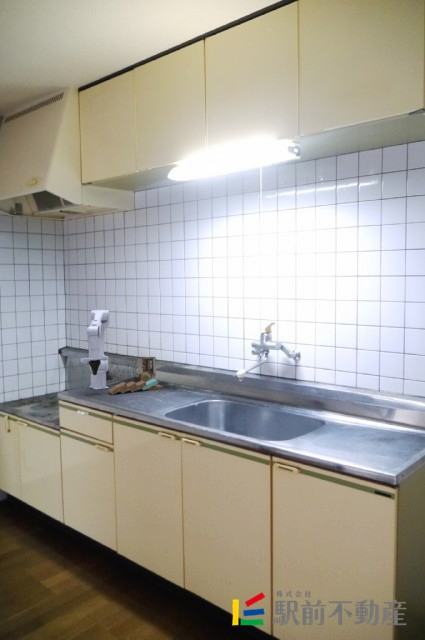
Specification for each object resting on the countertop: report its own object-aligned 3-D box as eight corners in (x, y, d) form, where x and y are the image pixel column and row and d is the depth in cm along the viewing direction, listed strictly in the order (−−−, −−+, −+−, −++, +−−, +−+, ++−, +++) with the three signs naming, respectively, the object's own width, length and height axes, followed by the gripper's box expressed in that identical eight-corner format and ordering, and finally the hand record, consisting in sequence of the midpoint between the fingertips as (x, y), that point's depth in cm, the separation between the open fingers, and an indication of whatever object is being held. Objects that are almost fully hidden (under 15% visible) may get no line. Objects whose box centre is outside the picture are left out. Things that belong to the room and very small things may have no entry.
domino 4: (142, 387, 275) (157, 380, 278) (139, 385, 279) (153, 378, 283) (143, 390, 275) (158, 383, 279) (140, 388, 280) (154, 381, 283)
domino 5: (147, 387, 277) (162, 385, 282) (143, 386, 281) (158, 384, 286) (148, 391, 277) (162, 389, 282) (144, 389, 281) (158, 387, 286)
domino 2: (120, 390, 268) (135, 382, 272) (117, 388, 272) (131, 381, 276) (122, 393, 269) (136, 386, 273) (118, 392, 273) (133, 384, 277)
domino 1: (111, 391, 265) (126, 383, 269) (107, 389, 270) (122, 381, 274) (112, 395, 266) (127, 386, 270) (109, 393, 270) (123, 385, 274)
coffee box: (156, 384, 293) (156, 356, 291) (154, 386, 286) (153, 358, 285) (140, 384, 293) (140, 356, 292) (138, 386, 287) (137, 358, 286)
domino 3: (130, 389, 271) (145, 381, 275) (127, 387, 275) (142, 380, 279) (131, 392, 272) (146, 385, 275) (128, 390, 276) (143, 383, 280)
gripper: (83, 350, 258) (84, 377, 259) (110, 348, 266) (110, 374, 267) (78, 349, 264) (79, 375, 265) (105, 347, 272) (105, 372, 273)
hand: (94, 374), depth 266 cm, fingers closed
